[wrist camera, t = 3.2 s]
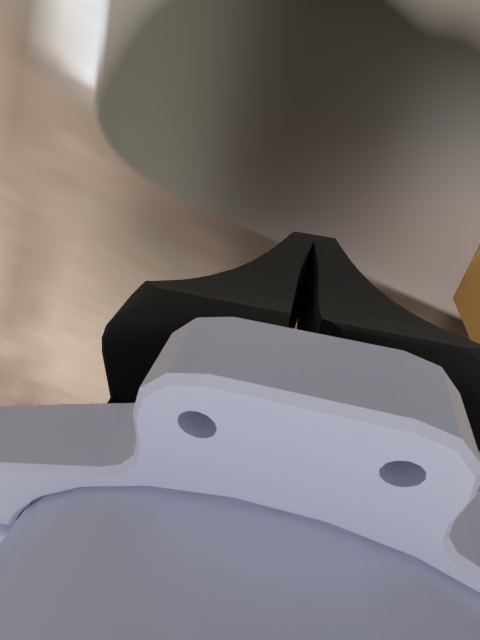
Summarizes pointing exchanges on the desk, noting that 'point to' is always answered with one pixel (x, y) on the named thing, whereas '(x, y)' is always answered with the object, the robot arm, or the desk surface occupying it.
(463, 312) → the tray
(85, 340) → the desk surface
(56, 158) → the desk surface
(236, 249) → the desk surface
